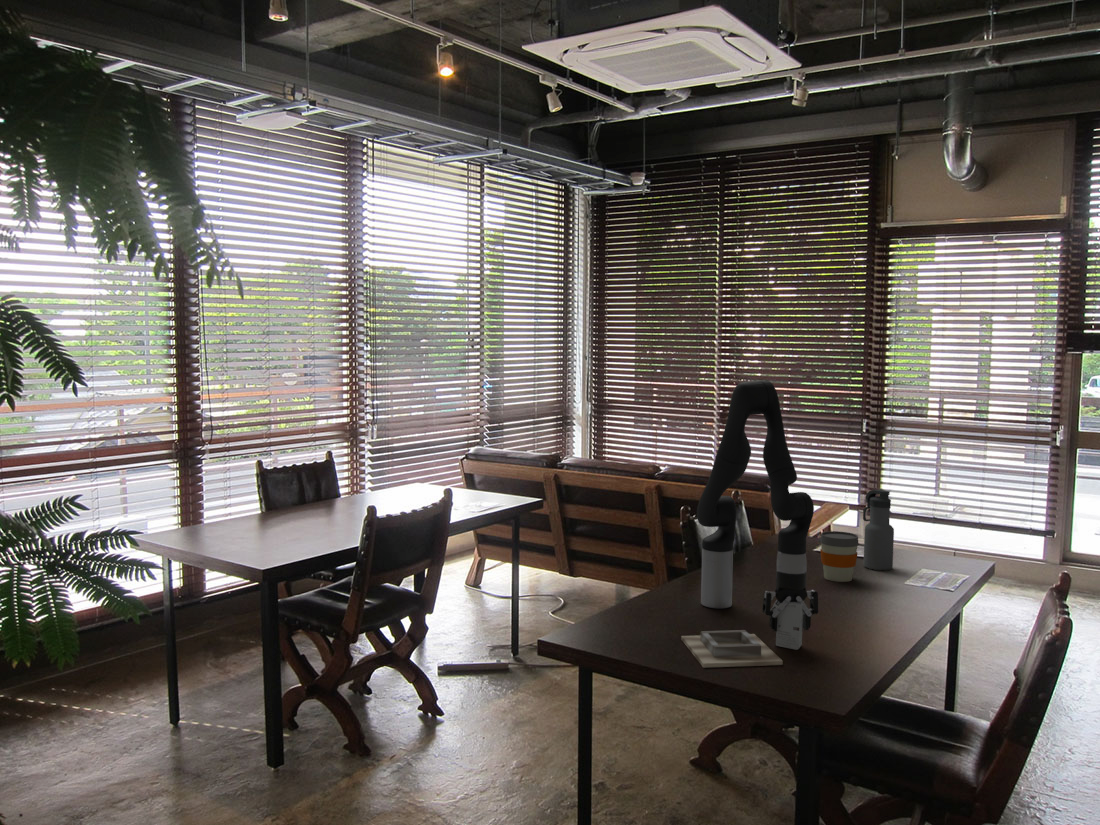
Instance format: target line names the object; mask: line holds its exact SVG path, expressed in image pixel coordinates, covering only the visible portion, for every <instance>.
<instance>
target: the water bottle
mask: <svg viewBox="0 0 1100 825" xmlns="http://www.w3.org/2000/svg"><path fill="white" fill-rule="evenodd" d="M877 495H879V496H877ZM889 496H890V491H889V490H886V489H872V490H871V489H870V490H869V491H868V492H867V493H866V495H865V499H864V500H865V502H866V504H867V506H865V507H864V508H863V510H862V519H863V520H862V521H864V522H869V523H867V524H866V525H865V526H864V538H863V539H864V540H863V542H864V543H863V566H864V567H865V568H866V569H868V568H869V570H872V569H874V571H880V570H886V571H889V570H892V569H893V564H894V561H893V560H894V540H895V539H894V538H895V528H894V527H893V526H892V525H891V524H890V517H891V516H890V515H891V514H890V512H891V506H892V505H891V502H892V499H891V498H889ZM867 510H870V511H869V514H870V515H869V519H867V518H866V516H867V515H866V514H867V513H866V512H867Z"/></svg>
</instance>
